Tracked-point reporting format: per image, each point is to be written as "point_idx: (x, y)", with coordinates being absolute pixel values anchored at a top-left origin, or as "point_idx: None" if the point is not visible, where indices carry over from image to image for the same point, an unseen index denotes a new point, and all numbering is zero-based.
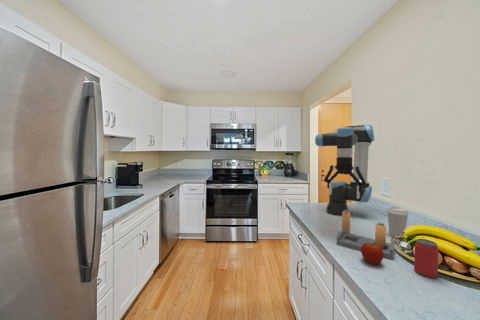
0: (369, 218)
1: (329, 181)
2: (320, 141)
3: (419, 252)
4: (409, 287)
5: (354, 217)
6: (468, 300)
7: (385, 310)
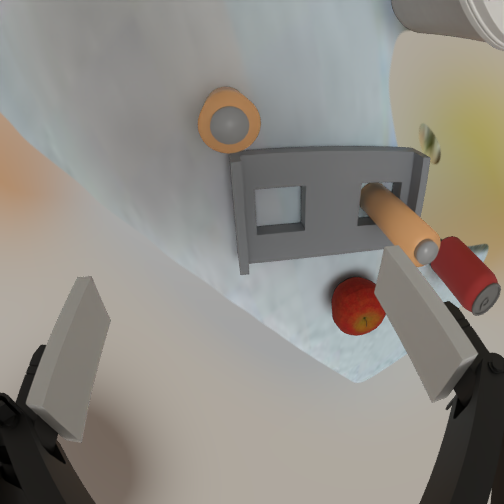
0: None
1: (63, 460)
2: None
3: (458, 300)
4: None
5: None
6: None
7: (358, 381)
